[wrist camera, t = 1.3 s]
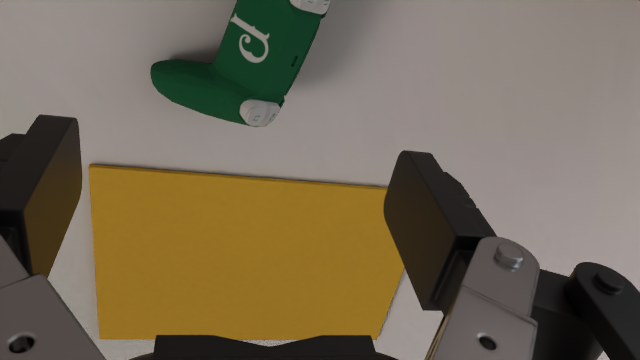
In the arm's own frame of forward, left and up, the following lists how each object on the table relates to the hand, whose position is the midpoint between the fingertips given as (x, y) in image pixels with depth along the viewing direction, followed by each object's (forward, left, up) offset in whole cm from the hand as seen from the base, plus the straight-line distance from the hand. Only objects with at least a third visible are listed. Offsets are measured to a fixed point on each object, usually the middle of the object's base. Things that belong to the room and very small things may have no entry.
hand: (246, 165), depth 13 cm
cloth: (-3, +16, -13) cm, 21 cm away
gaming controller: (0, 0, -13) cm, 13 cm away
